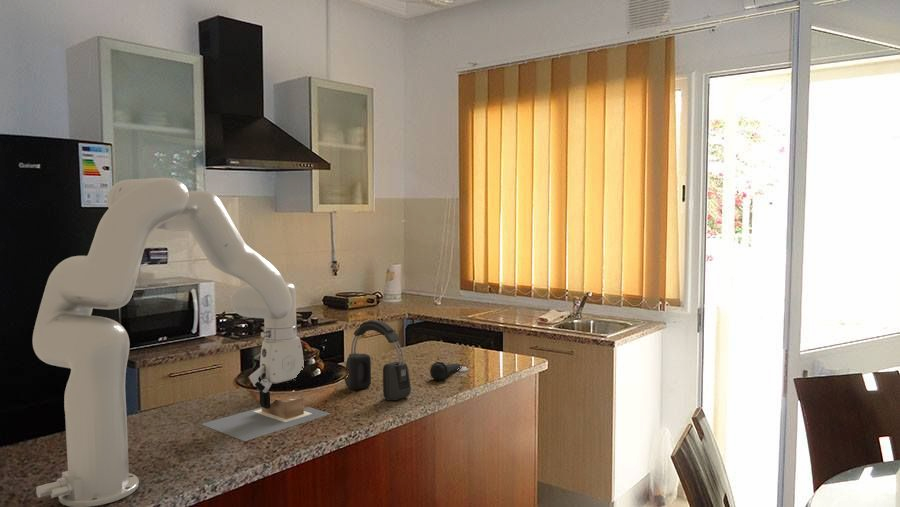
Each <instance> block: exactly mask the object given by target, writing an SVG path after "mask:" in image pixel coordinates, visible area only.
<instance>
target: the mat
mask: <svg viewBox="0 0 900 507" xmlns="http://www.w3.org/2000/svg"><path fill="white" fill-rule="evenodd" d="M308 407H309V408H306V409H304V414H302V415H299V416H296V417H292V418H289V419H284V418H281V417H278V416H275V415H272V414H269V413H266V412H263V411H262V407H261V406H260V407H258V408H254V409H251V410H248V411H244V412H243V411H242V412H239V413H237V414H236V413H235V414H232V415H229V416H226V417H221V418H217V419H214V420H211V421H206V422H203V423H201V424H200V425H202V426H204V427H206V428H209V429H212V430H214V431H217V432H218V433H222V434H225V435H227V436H230V437H232V438H235V439H237V440H239V441H243V442H248V441H250V440H253V439H258V438H260V437H263V436H266V435H271V434H273V433H276V432H279V431H283V430H285V429H289V428H291V427H296V426H297V425H301V424H304V423H308V422H310V421H313V420H317V419H320V418H324V417H326V416H329V415H332V413H331V412H326V411H323V410H321V409H317V408H313V407H311V406H308Z"/></svg>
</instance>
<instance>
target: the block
mask: <svg viewBox="0 0 900 507" xmlns="http://www.w3.org/2000/svg"><path fill="white" fill-rule="evenodd" d="M270 405H271V407H270V408H269V409H266V408H263V407H262V411H263V412H266V413H269V414H272V415H275V416H278V417H281V418H284V419H289V418H292V417H296V416H299V415H302V414H304V406H305V405H304V398H299V399H285V400H284V399H283V400H275V401H274V402H273V403H271V404H270Z"/></svg>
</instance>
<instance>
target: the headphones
mask: <svg viewBox="0 0 900 507" xmlns="http://www.w3.org/2000/svg"><path fill="white" fill-rule="evenodd" d="M370 331H374V332H377V333H379V334H380V335H382V336H384V338H385V339H386V340H387V341H388V342H387V343H389V344H392V343H393V345H394V347H395V349H396V352H397V355H398V356H397V357H398V361H394V362H393V361H391V362H389V363H385V364H384V365H383V368H382V393H383V398H384V399H386V400H387V401H399V400H401V399H404V398H407V397H409V396H410V394H411V392H412V387H411V378H410V372H409V371H410V370H409V367H408V364H406V363H405V362H404V361H405V360H404V353H403V349H402V347H401V345H400V343H399V341H400V337H399V335H398V333H396V331H395V330H394V329H393V327H392V326H390V325H389V324H388V323H387V322H384V321H381V320H377V319H375V320H368V321H364V322H363V323H360V325H359V327H357V329H355V331H354V332H353V335H354V337H353V340H352V341H351V342H352V343H351V348H350V353H349V354H348V357H347V359H346V363H345V370H346V369H347V370H348V371H349V375H348V377H347V378H345V377H344V382H345V385H346V387H347V388H349V390H353V391H359V390H364V389H367V388H369V387H370V386H371V384H372V383H371V382H372V361H371V357H370V355H369V354H366V353H360V352H359V353H357V352H356V348H357V343H358V340H359V338H360V336H363V335H365V334H366V333H367V332H370Z"/></svg>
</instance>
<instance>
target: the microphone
mask: <svg viewBox="0 0 900 507" xmlns="http://www.w3.org/2000/svg"><path fill="white" fill-rule="evenodd" d="M460 366H462V367H463V365H462V364H460V363H448V364H447V363H445V362H442V361H436V362H434V363H433V364H432V365H431V366H430V370H429V373H430V376H431V378H432V379H433V380H435V381H440V382H442V381H444V380H446V379H447V378H448V376H450V375H451V374H452V373H455V372H458V371H457V369H458V368H460ZM460 369H461V368H460Z"/></svg>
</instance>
